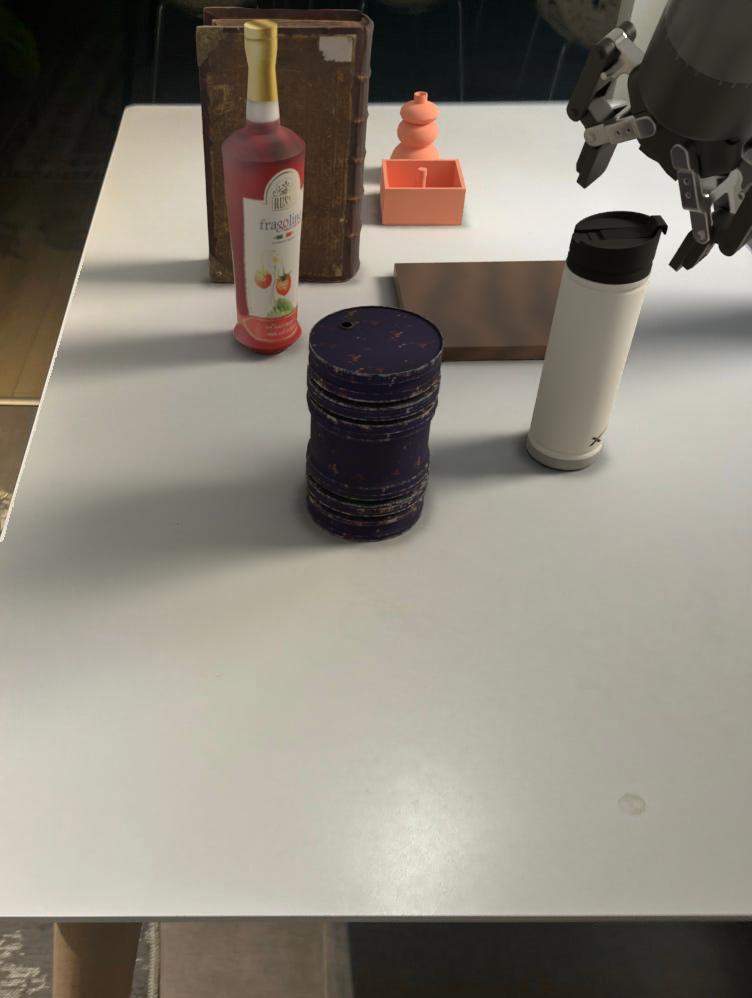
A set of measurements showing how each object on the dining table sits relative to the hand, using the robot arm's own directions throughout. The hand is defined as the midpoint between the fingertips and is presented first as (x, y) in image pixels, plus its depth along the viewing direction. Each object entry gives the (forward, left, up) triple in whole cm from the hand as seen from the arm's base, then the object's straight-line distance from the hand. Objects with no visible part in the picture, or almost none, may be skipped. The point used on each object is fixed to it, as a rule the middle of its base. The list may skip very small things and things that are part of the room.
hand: (635, 219), depth 64 cm
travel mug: (-1, -5, -22) cm, 23 cm away
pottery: (+6, -60, -22) cm, 64 cm away
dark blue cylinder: (+17, +2, -22) cm, 28 cm away
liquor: (+25, -24, -22) cm, 41 cm away
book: (+23, -39, -22) cm, 50 cm away
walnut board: (+1, -29, -22) cm, 36 cm away
